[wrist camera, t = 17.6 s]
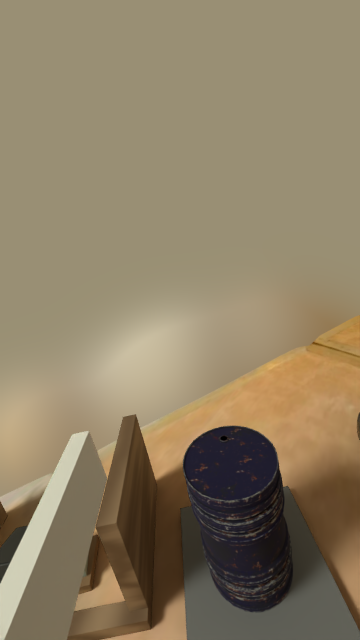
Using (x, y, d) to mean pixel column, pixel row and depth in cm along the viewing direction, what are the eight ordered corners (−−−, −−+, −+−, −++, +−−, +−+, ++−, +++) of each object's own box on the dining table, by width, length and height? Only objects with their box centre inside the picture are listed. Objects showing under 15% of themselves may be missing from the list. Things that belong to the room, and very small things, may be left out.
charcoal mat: (288, 491, 40) (287, 486, 40) (363, 646, 25) (363, 639, 25) (181, 513, 40) (180, 508, 40) (190, 680, 25) (188, 674, 25)
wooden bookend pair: (156, 484, 46) (135, 414, 42) (150, 629, 29) (114, 533, 25) (-4, 517, 47) (-40, 451, 43) (-105, 680, 29) (-180, 594, 25)
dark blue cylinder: (311, 606, 27) (297, 491, 23) (214, 622, 28) (183, 512, 24) (275, 511, 37) (261, 417, 33) (203, 524, 37) (180, 433, 33)
